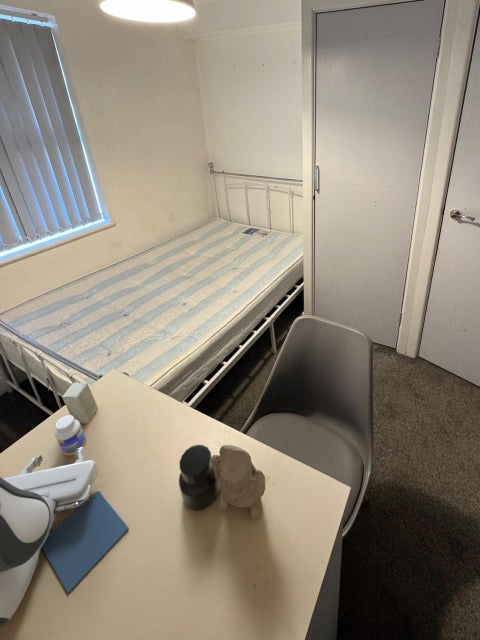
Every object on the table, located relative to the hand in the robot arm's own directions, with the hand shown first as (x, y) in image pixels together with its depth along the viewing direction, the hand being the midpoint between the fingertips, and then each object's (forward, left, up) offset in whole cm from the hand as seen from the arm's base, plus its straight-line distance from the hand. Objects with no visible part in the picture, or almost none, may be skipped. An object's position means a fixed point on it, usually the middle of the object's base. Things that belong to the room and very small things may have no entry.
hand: (60, 452), depth 79 cm
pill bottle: (-4, +4, -6) cm, 8 cm away
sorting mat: (+19, -4, -5) cm, 20 cm away
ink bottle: (+33, +16, -6) cm, 37 cm away
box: (-11, +10, -6) cm, 15 cm away
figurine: (+43, +19, -6) cm, 47 cm away
